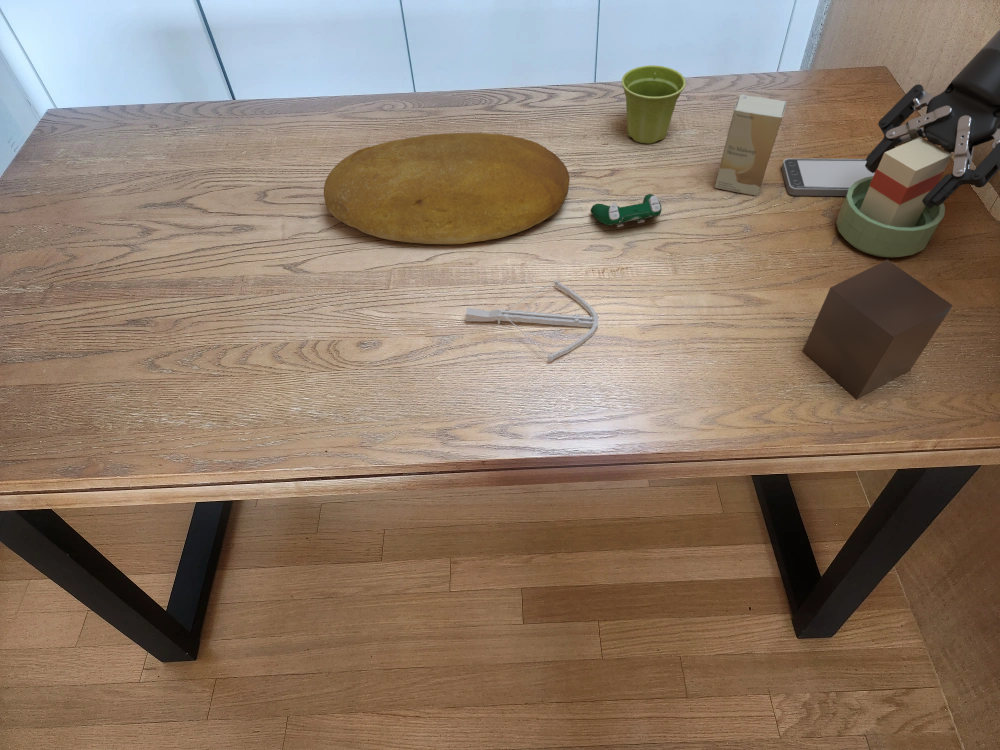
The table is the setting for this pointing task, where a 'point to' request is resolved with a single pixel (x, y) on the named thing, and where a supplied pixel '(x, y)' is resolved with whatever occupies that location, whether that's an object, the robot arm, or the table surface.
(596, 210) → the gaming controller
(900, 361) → the block
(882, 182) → the snack carton
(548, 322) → the crossbow
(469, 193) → the bread
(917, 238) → the bowl
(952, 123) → the robot arm
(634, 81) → the plant pot
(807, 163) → the smartphone
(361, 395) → the table surface
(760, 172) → the cosmetic box
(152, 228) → the table surface
